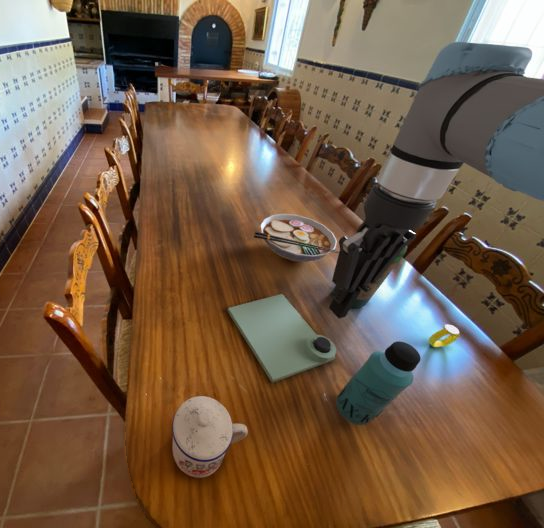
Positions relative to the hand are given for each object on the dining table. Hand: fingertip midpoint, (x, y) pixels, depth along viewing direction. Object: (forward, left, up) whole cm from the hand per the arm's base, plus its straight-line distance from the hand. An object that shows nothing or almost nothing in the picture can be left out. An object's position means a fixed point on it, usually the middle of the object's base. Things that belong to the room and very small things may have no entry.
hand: (336, 312), depth 53 cm
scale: (+9, +2, -16) cm, 19 cm away
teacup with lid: (-7, +27, -16) cm, 33 cm away
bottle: (+13, -24, -16) cm, 32 cm away
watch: (-6, -33, -16) cm, 37 cm away
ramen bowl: (+35, -21, -16) cm, 44 cm away
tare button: (+1, -3, -14) cm, 14 cm away
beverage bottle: (-11, -1, -16) cm, 20 cm away
